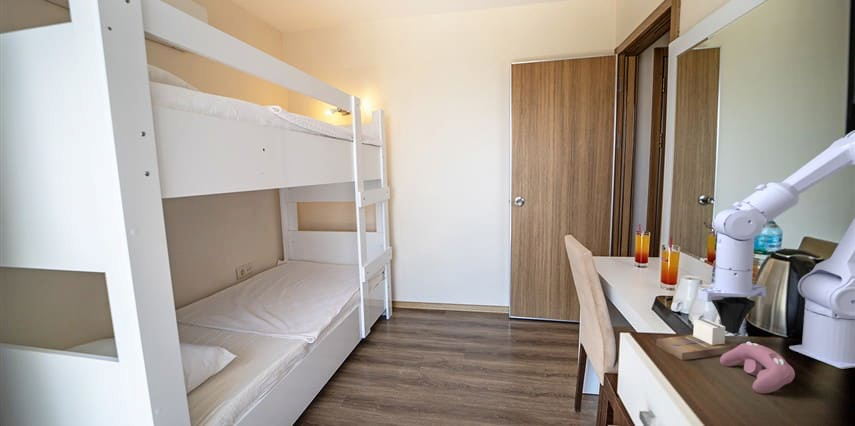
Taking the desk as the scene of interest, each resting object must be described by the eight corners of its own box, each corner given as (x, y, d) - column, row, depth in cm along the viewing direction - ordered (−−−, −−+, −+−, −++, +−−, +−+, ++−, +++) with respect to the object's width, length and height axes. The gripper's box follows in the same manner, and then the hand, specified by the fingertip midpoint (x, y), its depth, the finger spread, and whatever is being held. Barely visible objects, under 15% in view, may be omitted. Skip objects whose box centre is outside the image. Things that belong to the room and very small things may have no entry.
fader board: (708, 339, 74) (708, 332, 74) (737, 352, 68) (738, 345, 68) (656, 345, 72) (656, 338, 72) (682, 360, 66) (682, 352, 66)
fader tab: (705, 334, 73) (705, 318, 72) (724, 343, 69) (725, 325, 68) (693, 336, 72) (694, 319, 72) (712, 345, 68) (712, 327, 68)
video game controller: (782, 406, 54) (808, 370, 53) (753, 391, 55) (778, 356, 54) (739, 372, 64) (760, 341, 63) (714, 360, 65) (735, 329, 64)
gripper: (741, 261, 75) (738, 320, 76) (685, 265, 73) (683, 327, 74) (779, 268, 68) (775, 334, 69) (719, 274, 66) (715, 341, 67)
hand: (730, 331), depth 71 cm, fingers closed
